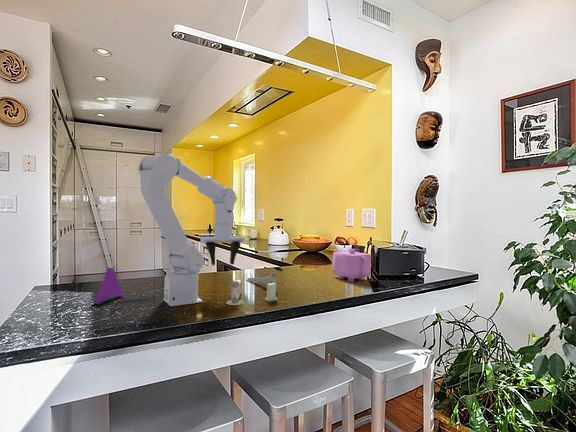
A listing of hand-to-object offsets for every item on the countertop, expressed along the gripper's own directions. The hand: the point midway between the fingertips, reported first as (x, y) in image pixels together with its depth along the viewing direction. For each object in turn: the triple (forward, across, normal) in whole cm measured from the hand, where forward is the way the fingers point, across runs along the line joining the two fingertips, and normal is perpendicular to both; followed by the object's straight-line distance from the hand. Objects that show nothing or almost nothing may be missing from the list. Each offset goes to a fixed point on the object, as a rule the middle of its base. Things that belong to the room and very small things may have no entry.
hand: (222, 264), depth 112 cm
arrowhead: (+10, -33, +1) cm, 35 cm away
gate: (+9, +3, -7) cm, 12 cm away
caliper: (+10, +16, +6) cm, 19 cm away
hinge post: (+9, +1, -14) cm, 17 cm away
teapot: (+10, +56, +8) cm, 57 cm away
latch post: (+9, +12, -14) cm, 21 cm away
